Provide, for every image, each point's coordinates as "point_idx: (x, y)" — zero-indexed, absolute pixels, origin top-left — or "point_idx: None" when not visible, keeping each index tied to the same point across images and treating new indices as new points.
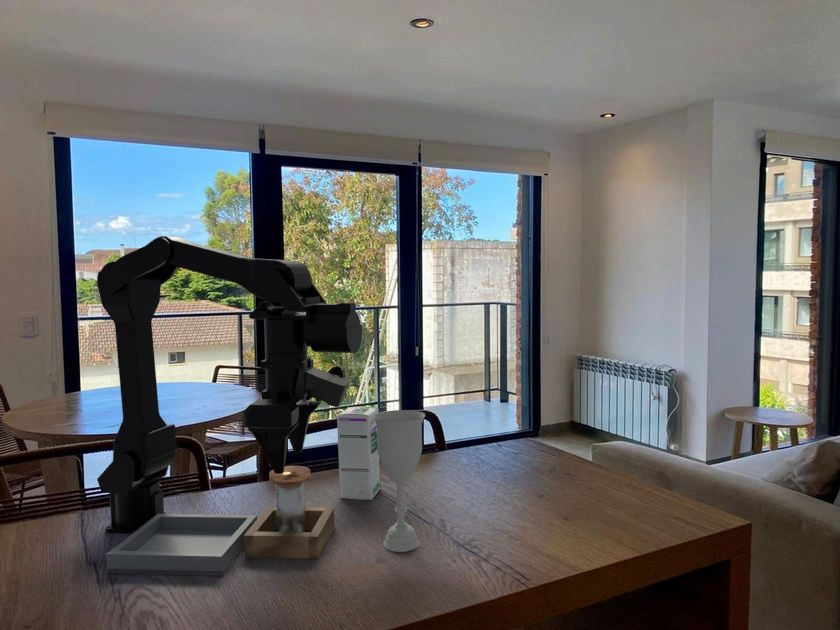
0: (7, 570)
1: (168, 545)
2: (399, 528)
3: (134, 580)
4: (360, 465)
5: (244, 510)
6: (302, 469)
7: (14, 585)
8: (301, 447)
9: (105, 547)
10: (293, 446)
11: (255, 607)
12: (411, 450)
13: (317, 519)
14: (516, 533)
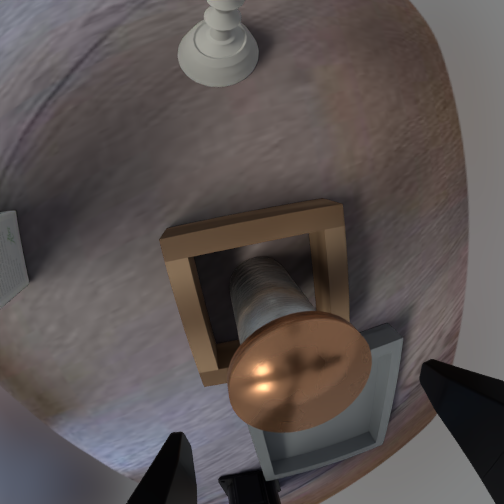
0: (360, 478)
1: (319, 430)
2: (236, 35)
3: None
4: None
5: (156, 419)
6: (267, 365)
7: (386, 457)
8: (180, 447)
9: None
10: (191, 468)
11: (449, 231)
12: None
13: (192, 266)
14: None
